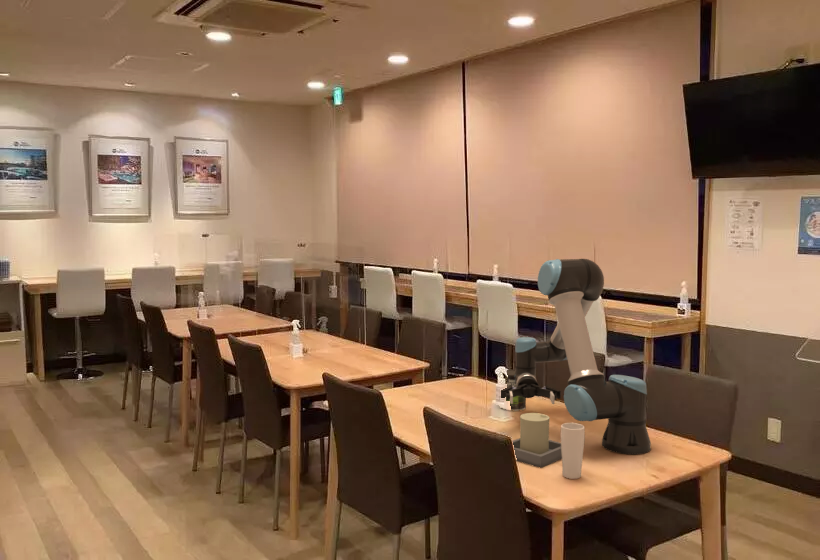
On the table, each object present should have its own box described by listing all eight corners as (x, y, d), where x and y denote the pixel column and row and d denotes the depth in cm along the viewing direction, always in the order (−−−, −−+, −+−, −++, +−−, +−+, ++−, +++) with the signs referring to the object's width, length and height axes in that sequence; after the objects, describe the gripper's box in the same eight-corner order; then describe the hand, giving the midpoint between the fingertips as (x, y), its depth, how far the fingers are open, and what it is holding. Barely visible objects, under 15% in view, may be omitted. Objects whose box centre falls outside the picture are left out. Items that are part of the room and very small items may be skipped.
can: (553, 456, 228) (553, 418, 227) (524, 458, 226) (524, 420, 225) (543, 447, 237) (544, 410, 236) (515, 448, 236) (516, 411, 234)
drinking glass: (580, 472, 217) (581, 422, 216) (586, 480, 211) (587, 429, 209) (557, 472, 217) (558, 422, 216) (562, 480, 210) (563, 429, 209)
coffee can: (525, 412, 281) (525, 375, 280) (498, 410, 283) (498, 374, 282) (527, 405, 291) (527, 370, 290) (501, 403, 293) (501, 368, 292)
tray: (569, 455, 232) (569, 445, 231) (540, 467, 221) (540, 456, 221) (529, 444, 242) (529, 434, 242) (500, 455, 232) (500, 445, 231)
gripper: (562, 396, 264) (570, 411, 243) (492, 395, 266) (494, 410, 245) (562, 375, 263) (570, 389, 242) (492, 375, 265) (494, 388, 244)
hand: (532, 399), depth 243 cm, fingers open, 13 cm apart
